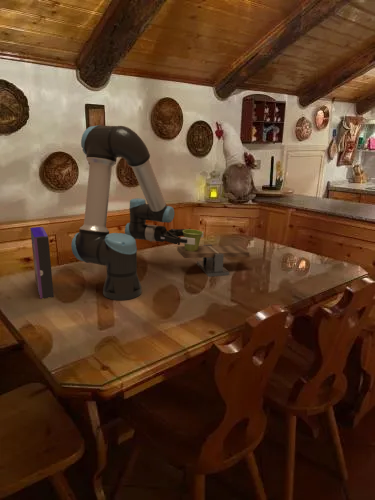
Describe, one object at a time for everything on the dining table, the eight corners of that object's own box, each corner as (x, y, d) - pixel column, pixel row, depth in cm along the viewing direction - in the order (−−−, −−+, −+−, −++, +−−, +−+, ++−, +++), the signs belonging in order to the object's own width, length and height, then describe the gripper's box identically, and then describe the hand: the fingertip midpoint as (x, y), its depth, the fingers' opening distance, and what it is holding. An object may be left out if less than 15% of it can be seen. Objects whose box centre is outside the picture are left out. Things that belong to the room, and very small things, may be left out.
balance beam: (238, 249, 180) (238, 245, 180) (248, 256, 169) (249, 252, 169) (177, 250, 171) (177, 246, 170) (184, 258, 160) (184, 253, 159)
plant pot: (200, 247, 171) (202, 229, 169) (202, 253, 162) (203, 234, 160) (181, 246, 171) (182, 228, 168) (181, 252, 162) (182, 233, 159)
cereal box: (35, 283, 150) (30, 227, 143) (48, 281, 152) (42, 226, 146) (40, 299, 136) (34, 237, 129) (53, 296, 138) (48, 236, 131)
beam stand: (229, 274, 165) (230, 254, 163) (208, 276, 163) (209, 255, 160) (215, 262, 182) (216, 243, 179) (196, 264, 179) (197, 244, 176)
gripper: (166, 235, 182) (206, 239, 176) (145, 247, 160) (190, 253, 153) (166, 220, 180) (206, 224, 174) (145, 231, 158) (191, 236, 151)
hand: (199, 238), depth 164 cm, fingers open, 13 cm apart
